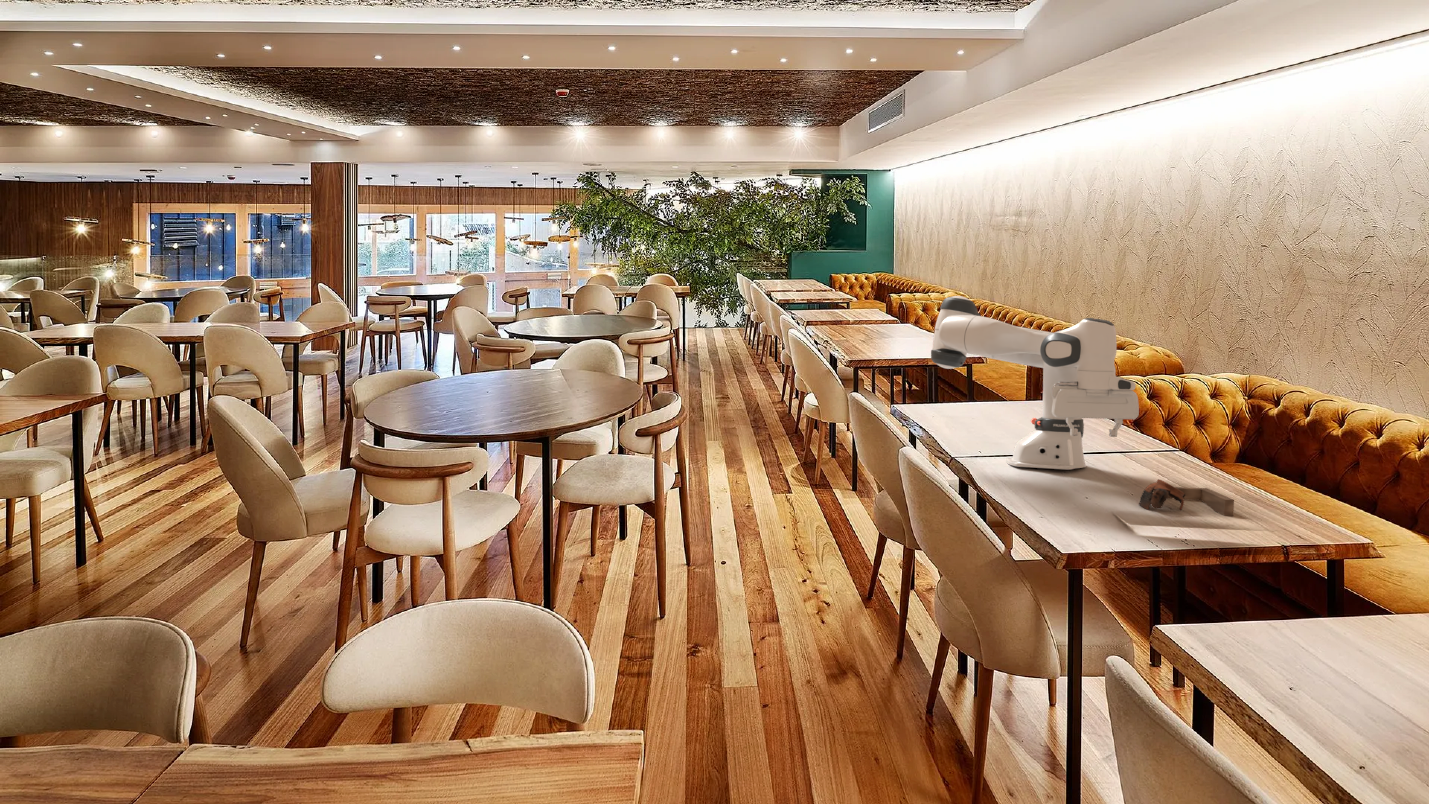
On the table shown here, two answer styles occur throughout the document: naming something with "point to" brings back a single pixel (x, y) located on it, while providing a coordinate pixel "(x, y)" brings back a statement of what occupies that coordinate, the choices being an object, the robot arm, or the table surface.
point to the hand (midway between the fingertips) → (1093, 436)
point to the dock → (1209, 499)
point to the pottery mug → (1160, 495)
